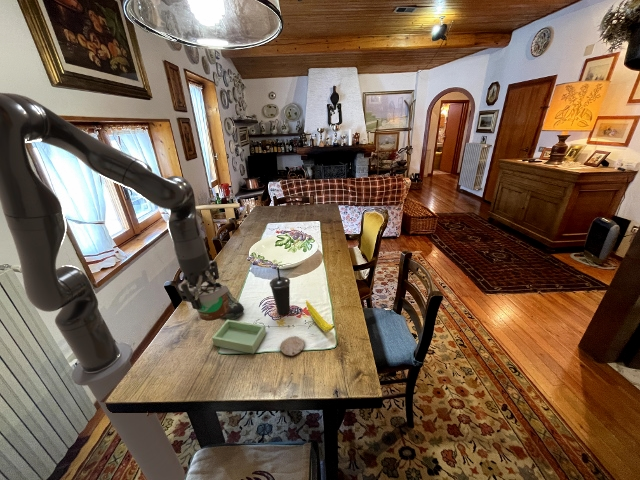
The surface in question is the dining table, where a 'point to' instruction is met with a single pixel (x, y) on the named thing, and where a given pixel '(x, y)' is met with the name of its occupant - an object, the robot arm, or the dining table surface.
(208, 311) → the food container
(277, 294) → the drinking cup
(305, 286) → the dining table surface
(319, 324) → the banana
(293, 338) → the flatbread
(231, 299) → the hiking shoe
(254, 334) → the holder
